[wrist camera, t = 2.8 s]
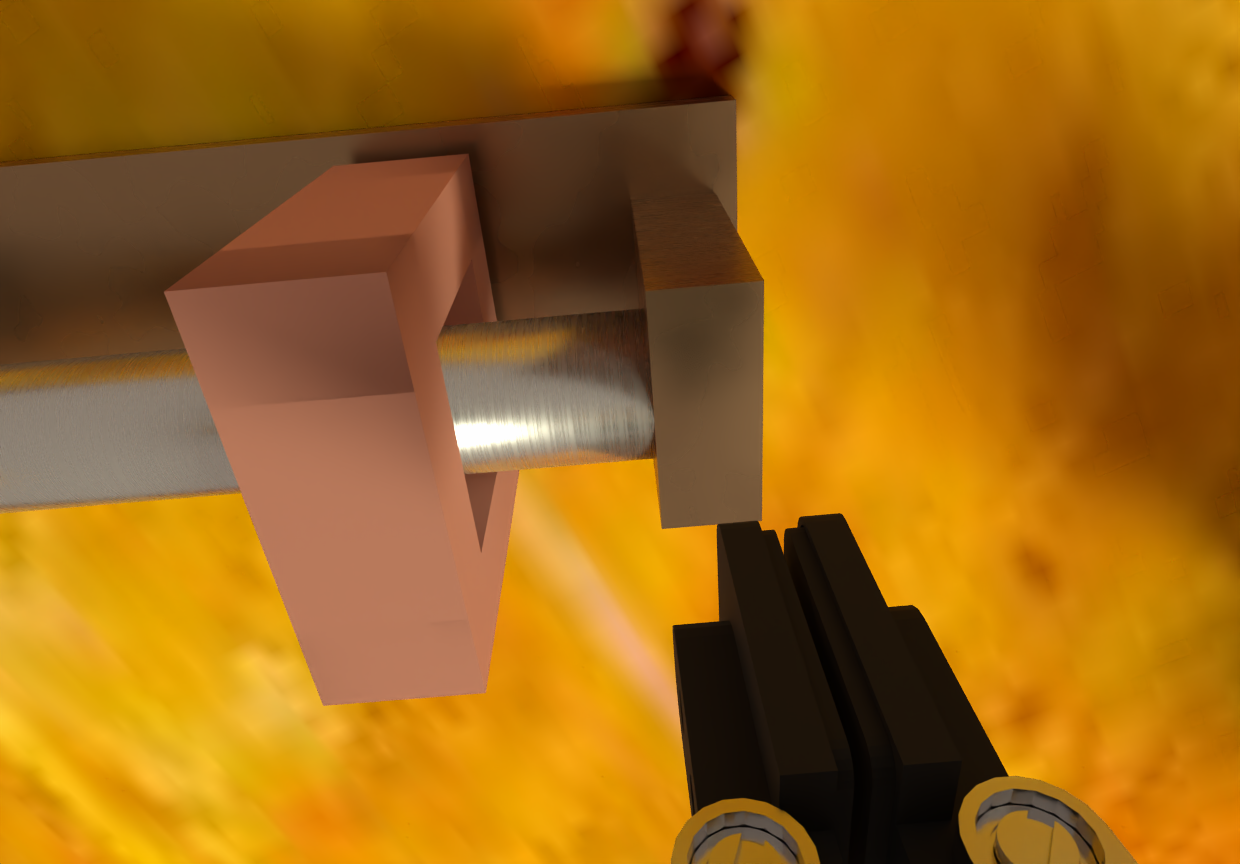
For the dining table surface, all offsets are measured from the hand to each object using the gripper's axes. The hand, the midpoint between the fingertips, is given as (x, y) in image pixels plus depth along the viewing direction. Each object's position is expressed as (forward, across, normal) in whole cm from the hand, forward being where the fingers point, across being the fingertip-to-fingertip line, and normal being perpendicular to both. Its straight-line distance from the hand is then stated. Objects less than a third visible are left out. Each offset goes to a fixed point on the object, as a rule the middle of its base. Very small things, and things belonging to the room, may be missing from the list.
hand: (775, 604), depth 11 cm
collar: (+10, +6, -1) cm, 12 cm away
